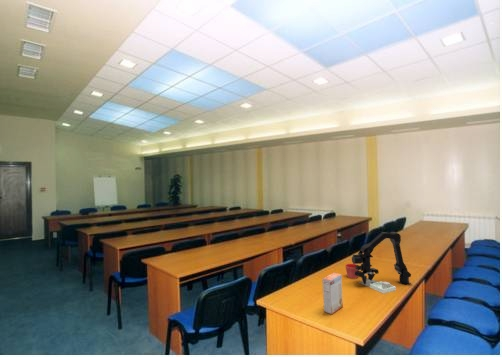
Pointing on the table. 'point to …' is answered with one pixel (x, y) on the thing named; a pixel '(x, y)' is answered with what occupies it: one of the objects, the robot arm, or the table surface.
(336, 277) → the cracker box
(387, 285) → the light grey cube
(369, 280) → the grey cube
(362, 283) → the lid board
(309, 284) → the table surface
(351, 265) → the flower pot
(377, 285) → the tray
